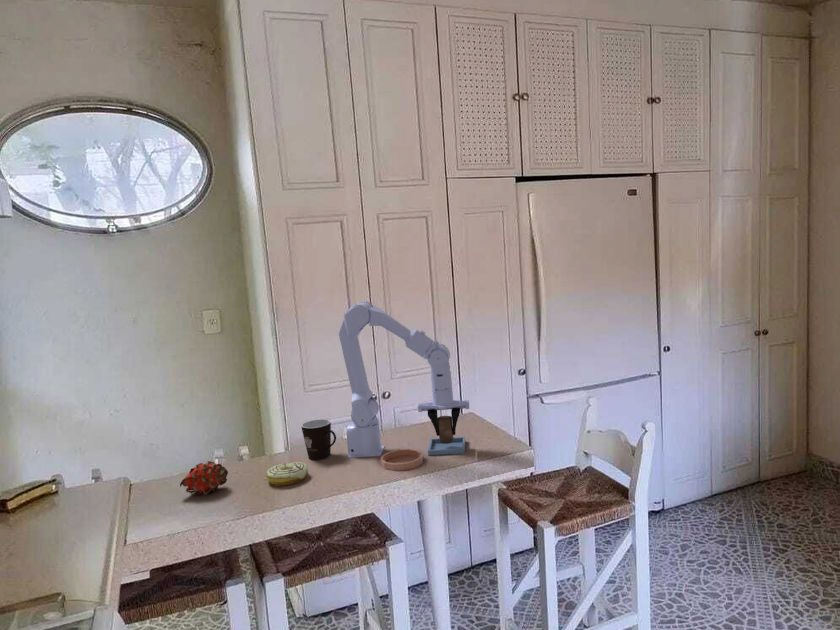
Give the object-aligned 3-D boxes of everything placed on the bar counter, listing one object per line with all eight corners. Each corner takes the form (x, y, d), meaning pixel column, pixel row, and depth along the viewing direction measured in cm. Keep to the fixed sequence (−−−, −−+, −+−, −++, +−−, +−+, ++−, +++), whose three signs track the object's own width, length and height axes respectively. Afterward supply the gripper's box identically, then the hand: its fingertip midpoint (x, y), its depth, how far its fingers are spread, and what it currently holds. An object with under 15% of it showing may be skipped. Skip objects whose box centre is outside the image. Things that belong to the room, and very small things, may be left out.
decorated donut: (311, 482, 151) (310, 468, 150) (269, 491, 147) (267, 477, 147) (305, 469, 160) (303, 456, 160) (265, 477, 157) (264, 464, 156)
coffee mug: (301, 455, 172) (298, 423, 171) (329, 449, 175) (326, 417, 174) (311, 467, 161) (307, 432, 160) (341, 460, 165) (337, 426, 164)
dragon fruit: (234, 493, 152) (187, 509, 148) (228, 467, 157) (183, 482, 154) (227, 475, 146) (178, 492, 142) (222, 449, 151) (174, 464, 148)
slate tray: (428, 457, 161) (427, 450, 161) (431, 444, 171) (430, 438, 171) (464, 455, 160) (464, 448, 160) (465, 442, 170) (464, 436, 170)
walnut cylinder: (438, 444, 163) (436, 420, 163) (440, 439, 167) (438, 415, 166) (452, 443, 163) (450, 419, 162) (454, 438, 166) (452, 415, 166)
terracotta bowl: (378, 472, 153) (377, 465, 152) (384, 457, 164) (384, 450, 164) (421, 470, 151) (420, 463, 151) (424, 454, 163) (424, 448, 163)
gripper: (415, 393, 160) (419, 440, 162) (467, 389, 159) (471, 437, 160) (417, 387, 167) (421, 432, 169) (467, 383, 166) (471, 429, 167)
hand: (446, 434), depth 165 cm, fingers closed on walnut cylinder, 4 cm apart
